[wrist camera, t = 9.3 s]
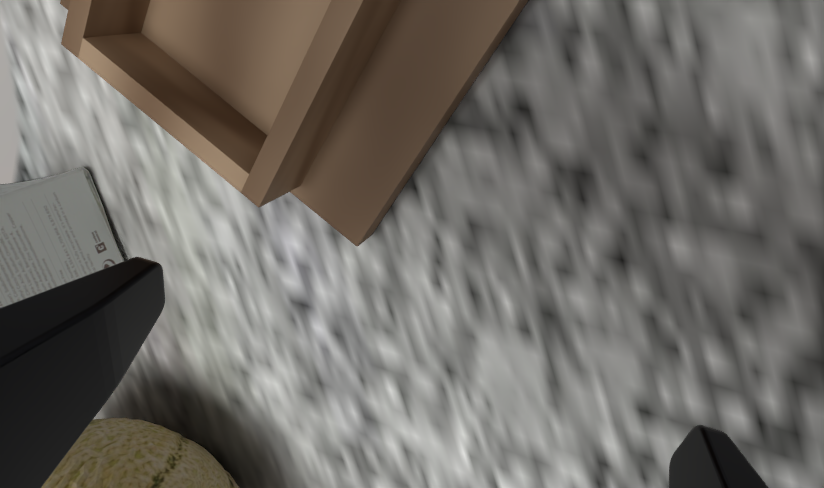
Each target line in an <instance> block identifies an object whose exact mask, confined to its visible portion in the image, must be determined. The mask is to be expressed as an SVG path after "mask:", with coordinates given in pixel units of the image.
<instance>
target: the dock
mask: <svg viewBox="0 0 824 488" xmlns="http://www.w3.org/2000/svg"><path fill="white" fill-rule="evenodd" d="M527 2H528V0H61V2H60V4H61V5H63V6H64V7H65V8H66V9H68V14H67V19H66V24H65V28H64V33H63V38H62V42H61V44H62V45H63V46H64V47H65V48H67V49H68V50H69V51H70V52H71V53H73V54H74V55H75V56H76V57H77V58H79V59H80V60H81V61H82V62H84V63H85V64H86V65H87V66H88V67H90V68H91V69H92V70H93V71H94V72H96V73H97V74H98V75H99V76H100V77H102V78H103V79H104V80H105V81H106V82H108V83H109V84H110V85H111V86H113V87H114V88H115V89H116V90H117V91H119V92H120V93H121V94H122V95H123V96H125V97H126V98H127V99H128V100H129V101H131V102H132V103H133V104H134V105H136V106H137V107H138V108H139V109H140V110H142V111H143V112H144V113H145V114H146V115H148V116H149V117H150V118H151V119H152V120H154V121H155V122H156V123H157V124H158V125H160V126H161V127H162V128H163V129H165V130H166V131H167V132H168V133H169V134H171V135H172V136H173V137H174V138H175V139H177V140H178V141H179V142H180V143H181V144H183V145H184V146H185V147H186V148H188V149H189V150H190V151H191V152H192V153H194V154H195V155H196V156H197V157H198V158H200V159H201V160H202V161H203V162H204V163H206V164H207V165H208V166H209V167H211V168H212V169H213V170H214V171H215V172H217V173H218V174H219V175H220V176H221V177H223V178H224V179H225V180H226V181H227V182H229V183H230V184H231V185H232V186H233V187H235V188H236V189H237V190H238V191H240V192H241V193H242V194H243V195H244V196H246V197H247V198H248V199H249V200H250V201H252V202H253V203H254V204H255V205H256V206H258V207H261V206H263V205H265V204H267V203H268V202H270V201H272V200H274V199H276V198H278V197H280V196H282V195H284V194H286V193H288V192H291V193H292V194H293V195H295V196H296V197H297V198H298V199H299V200H301V201H302V202H303V203H304V204H306V205H307V206H308V207H309V208H310V209H312V210H313V211H314V212H315V213H317V214H318V215H319V216H320V217H321V218H323V219H324V220H325V221H326V222H328V223H329V224H330V225H331V226H332V227H334V228H335V229H336V230H337V231H339V232H340V233H341V234H342V235H343V236H345V237H346V238H347V239H348V240H350V241H351V242H352V243H353V244H354V245H356V246H359V245H360V244H361V243H362V242H364V241H365V240H366V239H367V238H369V237H370V236H371V235H372V234H373V232H374V231H375V229H376V228H377V226H378V225H379V223H380V222H381V220H382V219H383V217H384V216H385V214H386V213H387V211H388V210H389V208H390V207H391V205H392V204H393V202H394V201H395V199H396V198H397V196H398V195H399V193H400V192H401V190H402V189H403V187H404V186H405V184H406V183H407V181H408V180H409V178H410V177H411V175H412V174H413V172H414V171H415V169H416V168H417V166H418V165H419V163H420V162H421V160H422V159H423V157H424V156H425V154H426V153H427V151H428V150H429V148H430V147H431V146H432V144H433V143H434V141H435V140H436V138H437V137H438V135H439V134H440V132H441V131H442V129H443V128H444V126H445V125H446V123H447V122H448V120H449V119H450V117H451V116H452V114H453V113H454V111H455V110H456V108H457V107H458V105H459V104H460V102H461V101H462V99H463V98H464V96H465V95H466V93H467V92H468V90H469V89H470V87H471V86H472V84H473V83H474V81H475V80H476V78H477V77H478V75H479V74H480V72H481V71H482V69H483V68H484V66H485V65H486V63H487V62H488V60H489V59H490V57H491V56H492V54H493V53H494V51H495V50H496V48H497V47H498V45H499V44H500V42H501V41H502V39H503V38H504V36H505V35H506V33H507V32H508V30H509V29H510V27H511V26H512V24H513V23H514V21H515V20H516V18H517V17H518V15H519V14H520V12H521V11H522V9H523V8H524V6H525V5H526V3H527Z"/></svg>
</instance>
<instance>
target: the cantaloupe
mask: <svg viewBox="0 0 824 488" xmlns="http://www.w3.org/2000/svg"><path fill="white" fill-rule="evenodd" d="M41 488H240V487H239V486H238V485H237V484H236V483H235V481H234V479H233V478H232V476H231V475H230V473H229V472H227V471H225V470H224V468H223V467H222V466H221V464H220V463H219V462H218V461H217V460H216V459H215V458H214V457H213V456H212V455H211V454H210V453H209V452H208V451H207V450H206V449H205V448H203V447H202V446H200V445H199V444H197V443H196V442H194V441H191V440H189V439H187V438H184V437H183V436H182V435H181V434H180V433H177V432H174V431H171V430H169V429H167V428H165V427H163V426H161V425H156V424H153V423H150V422H147V421H143V420H140V419H136V420H131V419H128V418H107V419H95V420H92V421H91V422H90V424H89V425H88V426H87V428H86V429H85V430H84V432H83V433H82V434H81V436H80V437H79V438H78V440H77V441H76V442H75V443H74V445H73V446H72V447H71V449H70V450H69V451H68V453H67V454H66V455H65V457H64V458H63V459H62V461H61V462H60V463H59V465H58V466H57V467H56V469H55V470H54V471H53V473H52V474H51V475H50V477H49V478H48V479H47V481H46V482H45V483H44V485H43V486H42V487H41Z"/></svg>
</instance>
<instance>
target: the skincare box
mask: <svg viewBox="0 0 824 488" xmlns="http://www.w3.org/2000/svg"><path fill="white" fill-rule="evenodd" d="M123 261H124V259H123V257H122V255H121V253H120V251H119V249H118V247H117V244H116V242H115V239H114V236H113V234H112V231H111V228H110V225H109V222H108V219H107V217H106V214H105V211H104V208H103V205H102V203H101V200H100V197H99V195H98V193H97V190H96V187H95V185H94V183H93V180H92V177H91V175H90V173H89V171H88V170H87V169H85V168H77V169H73V170H70V171H67V172H65V173H62V174H58V175H54V176H49V177H45V178H41V179H36V180H30V181H25V182H17V183H10V184H0V308H2V307H4V306H7V305H10V304H12V303H15V302H18V301H20V300H23V299H26V298H28V297H31V296H33V295H36V294H39V293H41V292H44V291H47V290H49V289H52V288H55V287H57V286H60V285H63V284H65V283H68V282H70V281H73V280H76V279H78V278H81V277H84V276H86V275H89V274H92V273H94V272H97V271H99V270H102V269H105V268H107V267H110V266H113V265H115V264H118V263H121V262H123Z"/></svg>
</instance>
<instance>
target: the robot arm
mask: <svg viewBox="0 0 824 488" xmlns="http://www.w3.org/2000/svg"><path fill="white" fill-rule="evenodd" d="M164 303H165V292H164V279H163V269H162V266H161V265H160V264H159V263H157V262H154V261H151V260H148V259H144V258H141V257H135V258H131V259H129V260H126V261H123V262H121V263H118V264H115V265H113V266H110V267H107V268H105V269H102V270H99V271H97V272H94V273H92V274H89V275H86V276H84V277H81V278H78V279H76V280H73V281H70V282H68V283H65V284H63V285H60V286H57V287H55V288H52V289H49V290H47V291H44V292H41V293H39V294H36V295H33V296H31V297H28V298H26V299H23V300H20V301H18V302H15V303H12V304H10V305H7V306H4V307H2V308H0V488H41V487H42V486H43V485H44V483H45V482H46V481H47V479H48V478H49V477H50V475H51V474H52V473H53V471H54V470H55V469H56V467H57V466H58V465H59V463H60V462H61V461H62V459H63V458H64V457H65V455H66V454H67V453H68V451H69V450H70V449H71V447H72V446H73V445H74V443H75V442H76V441H77V440H78V438H79V437H80V436H81V434H82V433H83V432H84V430H85V429H86V428H87V426H88V425H89V424H90V422H91V421H92V420H93V418H94V417H95V416H96V414H97V413H98V412H99V410H100V409H101V408H102V406H103V405H104V404H105V402H106V401H107V400H108V398H109V397H110V396H111V394H112V393H113V391H114V390H115V389H116V387H117V386H118V384H119V383H120V381H121V379H122V378H123V376H124V375H125V373H126V371H127V370H128V368H129V366H130V365H131V363H132V361H133V360H134V358H135V356H136V354H137V353H138V351H139V349H140V348H141V346H142V344H143V343H144V341H145V339H146V338H147V336H148V334H149V333H150V331H151V329H152V328H153V326H154V324H155V323H156V321H157V319H158V318H159V316H160V314H161V312H162V310H163V307H164ZM669 488H768V486H767V485H766V484H765V483H764V481H763V480H762V479H761V477H760V476H759V475H758V474H757V472H756V471H755V470H754V468H753V467H752V466H751V465H750V463H749V462H748V461H747V459H746V458H745V457H744V456H743V454H742V453H741V452H740V450H739V449H738V448H737V447H736V445H735V444H734V443H733V441H732V440H731V439H730V438H729V437H728V435H727V434H725V433H724V432H722V431H720V430H716V429H713V428H710V427H706V426H703V425H698V426H695V427H694V428H693V429H692V430H691V431H690V432H689V434H688V435H687V436H686V438H685V439H684V440H683V442H682V443H681V444H680V446H679V447H678V448H677V450H676V451H675V452H674V454H673V456H672V458H671V461H670V466H669Z"/></svg>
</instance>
